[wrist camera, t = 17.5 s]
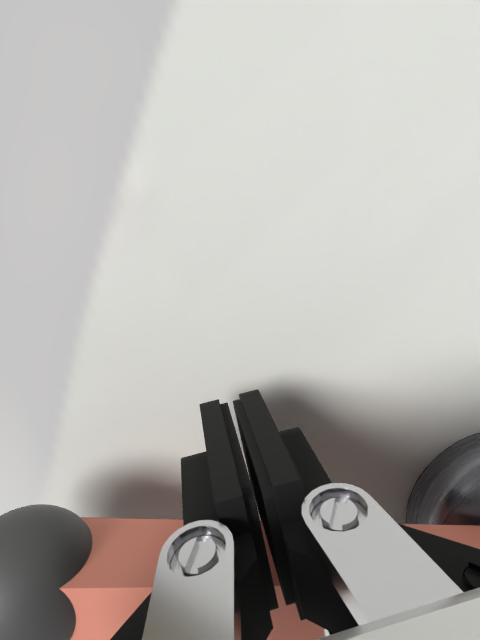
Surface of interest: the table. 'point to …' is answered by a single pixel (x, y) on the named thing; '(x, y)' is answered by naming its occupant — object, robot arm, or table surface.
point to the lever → (108, 573)
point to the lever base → (449, 487)
